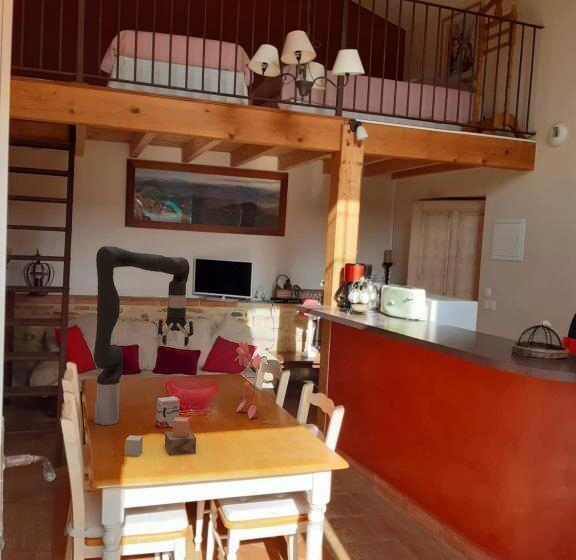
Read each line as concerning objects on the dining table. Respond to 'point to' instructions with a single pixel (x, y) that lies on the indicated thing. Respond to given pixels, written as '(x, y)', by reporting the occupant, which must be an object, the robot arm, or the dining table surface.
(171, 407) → the ink box
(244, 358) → the pink artificial flower
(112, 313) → the robot arm
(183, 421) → the terracotta block
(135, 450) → the sage block
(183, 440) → the walnut block
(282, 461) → the dining table surface
